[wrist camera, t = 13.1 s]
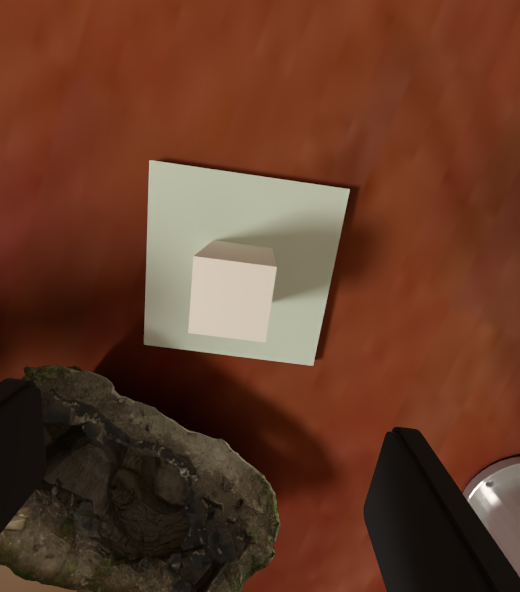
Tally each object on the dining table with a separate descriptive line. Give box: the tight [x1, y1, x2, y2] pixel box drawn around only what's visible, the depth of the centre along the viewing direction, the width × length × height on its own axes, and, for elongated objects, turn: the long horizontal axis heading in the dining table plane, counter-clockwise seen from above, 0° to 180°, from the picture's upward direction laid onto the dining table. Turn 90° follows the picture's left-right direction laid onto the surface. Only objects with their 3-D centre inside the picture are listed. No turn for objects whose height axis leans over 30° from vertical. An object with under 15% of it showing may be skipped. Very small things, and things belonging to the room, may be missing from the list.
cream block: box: [188, 240, 277, 343], centre depth 23 cm, size 5×5×8 cm
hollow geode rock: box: [0, 365, 280, 592], centre depth 28 cm, size 28×13×15 cm
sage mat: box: [144, 160, 350, 366], centre depth 27 cm, size 16×16×1 cm
